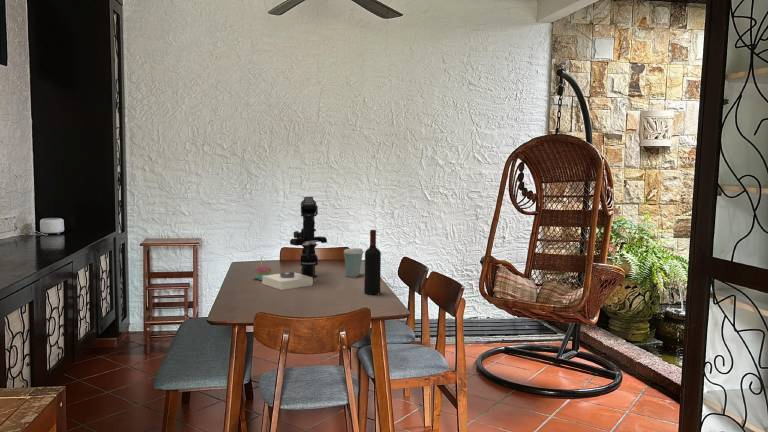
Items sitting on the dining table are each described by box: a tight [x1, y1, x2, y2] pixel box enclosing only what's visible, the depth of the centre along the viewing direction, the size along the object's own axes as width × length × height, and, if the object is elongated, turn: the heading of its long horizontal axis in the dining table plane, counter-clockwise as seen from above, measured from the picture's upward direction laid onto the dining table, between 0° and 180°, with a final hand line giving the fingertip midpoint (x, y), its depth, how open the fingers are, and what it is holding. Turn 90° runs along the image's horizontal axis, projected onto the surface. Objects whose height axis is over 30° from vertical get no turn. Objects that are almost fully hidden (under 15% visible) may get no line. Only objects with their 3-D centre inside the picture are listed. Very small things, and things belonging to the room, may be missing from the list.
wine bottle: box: [363, 229, 382, 295], centre depth 295 cm, size 8×8×30 cm
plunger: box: [279, 270, 295, 278], centre depth 313 cm, size 7×7×6 cm
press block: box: [261, 271, 314, 291], centre depth 313 cm, size 18×18×4 cm
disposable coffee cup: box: [343, 247, 364, 278], centre depth 337 cm, size 11×11×15 cm
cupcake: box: [254, 257, 272, 281], centre depth 325 cm, size 9×8×12 cm
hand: (308, 257), depth 316 cm, fingers closed
